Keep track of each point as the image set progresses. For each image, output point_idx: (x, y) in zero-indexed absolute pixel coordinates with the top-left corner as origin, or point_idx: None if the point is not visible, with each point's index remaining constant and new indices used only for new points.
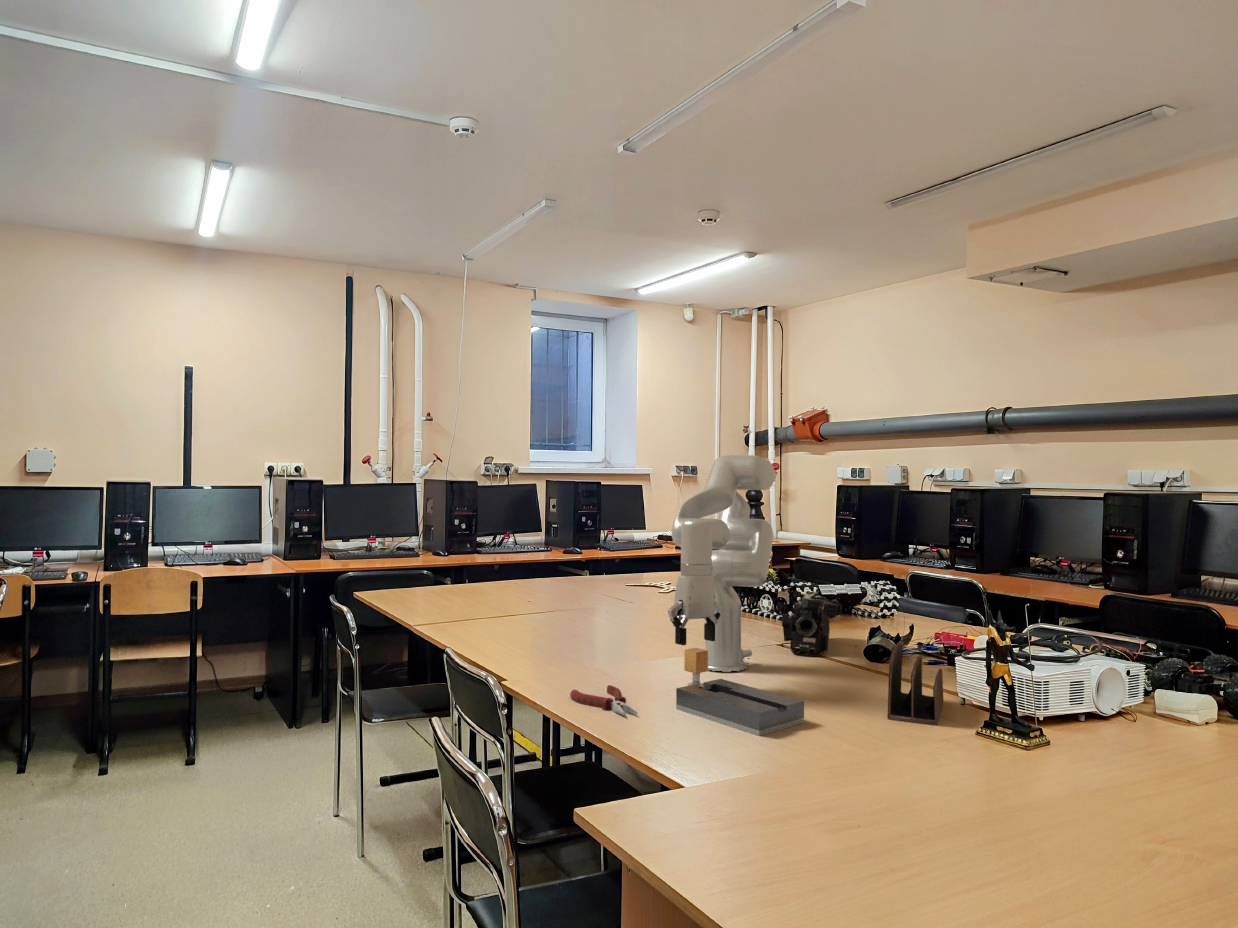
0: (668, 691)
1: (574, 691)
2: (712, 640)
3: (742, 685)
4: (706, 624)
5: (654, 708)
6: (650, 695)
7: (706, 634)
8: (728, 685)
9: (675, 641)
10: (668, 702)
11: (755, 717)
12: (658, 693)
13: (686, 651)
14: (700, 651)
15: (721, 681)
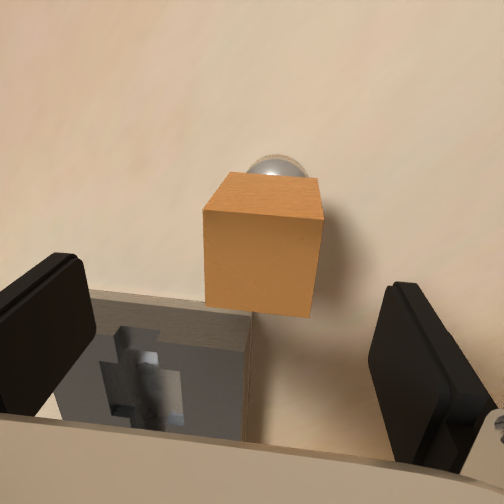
0: (169, 132)
1: None
2: (368, 360)
3: (233, 427)
4: (429, 416)
5: (17, 246)
6: (75, 127)
7: (395, 333)
8: (198, 404)
9: (51, 258)
10: (86, 232)
11: None
12: (118, 127)
13: (205, 224)
14: (249, 305)
15: (217, 370)
